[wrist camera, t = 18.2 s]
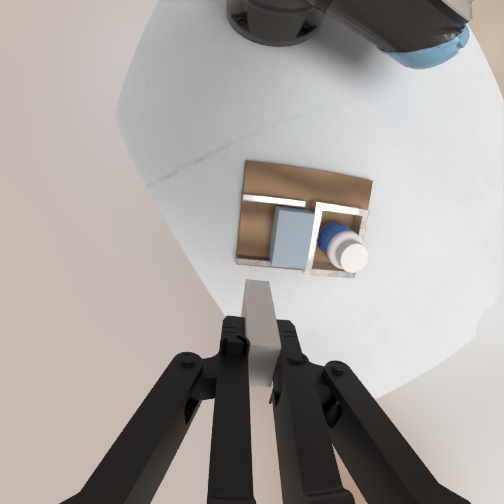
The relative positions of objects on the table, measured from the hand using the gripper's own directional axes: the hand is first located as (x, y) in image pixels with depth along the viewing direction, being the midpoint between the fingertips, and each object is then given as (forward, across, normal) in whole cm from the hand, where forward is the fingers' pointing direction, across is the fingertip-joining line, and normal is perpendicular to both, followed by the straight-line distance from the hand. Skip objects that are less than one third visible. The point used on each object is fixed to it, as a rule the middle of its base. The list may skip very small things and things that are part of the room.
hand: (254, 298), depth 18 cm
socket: (+24, +13, -1) cm, 27 cm away
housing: (+24, +6, -1) cm, 25 cm away
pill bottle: (+24, +13, -1) cm, 28 cm away
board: (+25, +9, +1) cm, 27 cm away
